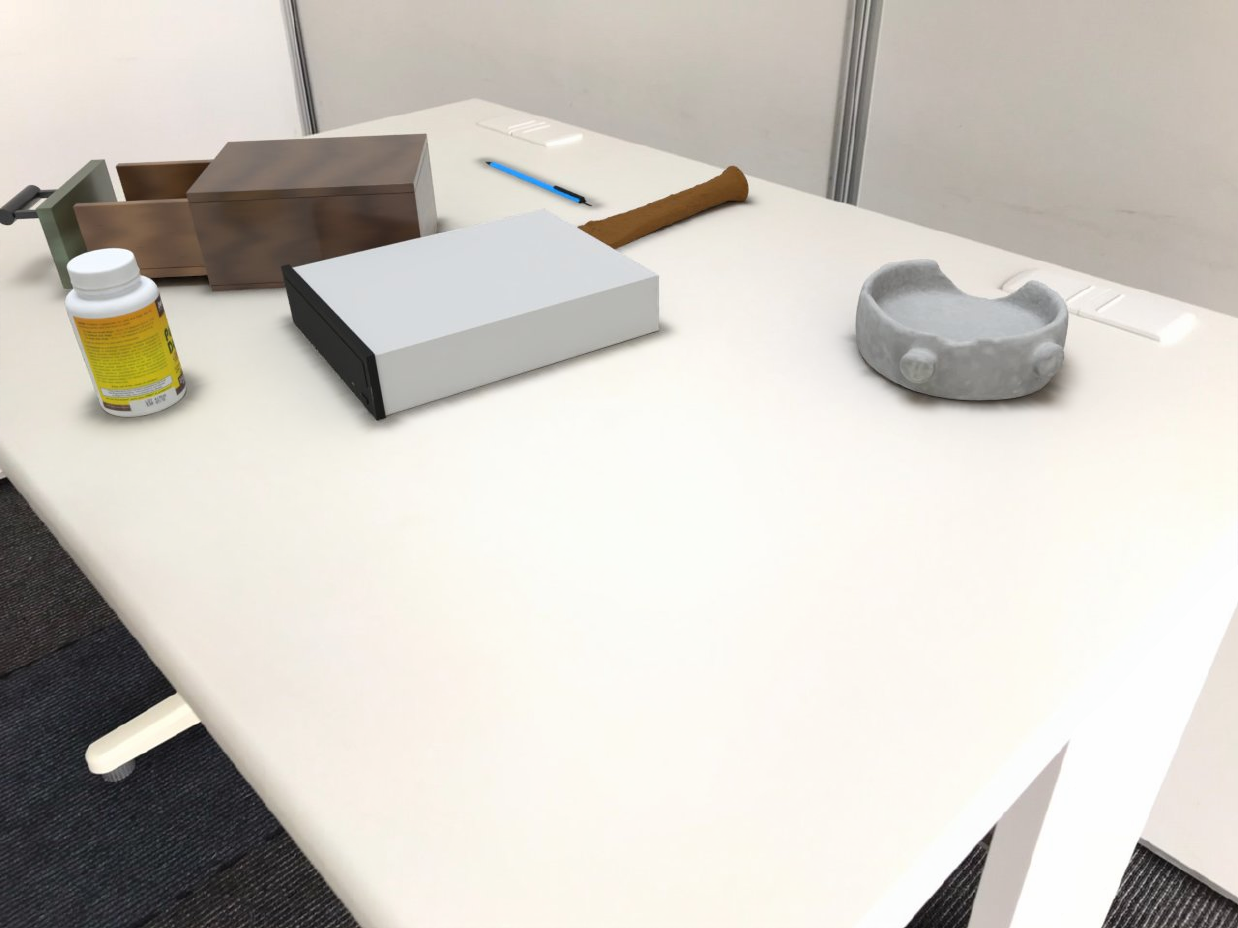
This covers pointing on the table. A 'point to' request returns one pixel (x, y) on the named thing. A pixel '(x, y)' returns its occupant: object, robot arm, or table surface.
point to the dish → (959, 334)
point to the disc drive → (468, 307)
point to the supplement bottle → (123, 334)
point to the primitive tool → (669, 209)
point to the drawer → (119, 216)
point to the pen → (541, 184)
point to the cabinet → (308, 203)
